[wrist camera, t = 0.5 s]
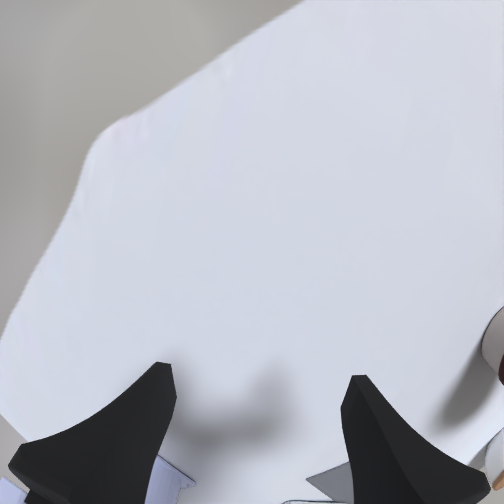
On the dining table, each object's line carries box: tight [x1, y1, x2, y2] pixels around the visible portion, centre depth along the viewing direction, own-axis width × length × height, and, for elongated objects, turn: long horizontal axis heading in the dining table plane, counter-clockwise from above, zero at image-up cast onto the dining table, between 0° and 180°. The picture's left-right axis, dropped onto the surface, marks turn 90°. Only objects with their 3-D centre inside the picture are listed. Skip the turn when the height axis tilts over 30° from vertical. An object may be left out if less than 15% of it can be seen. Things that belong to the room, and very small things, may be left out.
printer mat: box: [306, 462, 354, 504], centre depth 27 cm, size 14×18×1 cm
